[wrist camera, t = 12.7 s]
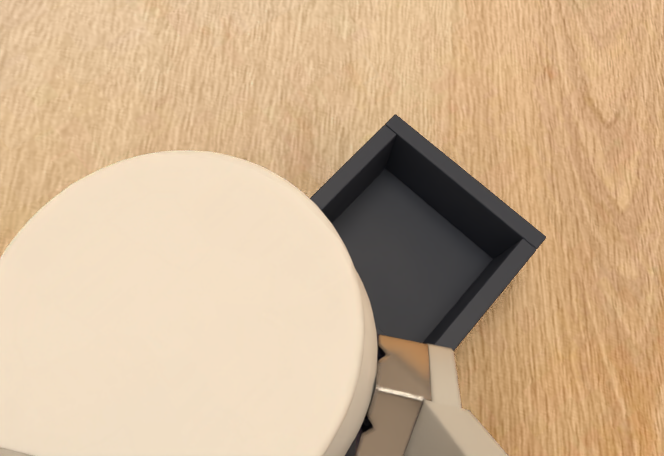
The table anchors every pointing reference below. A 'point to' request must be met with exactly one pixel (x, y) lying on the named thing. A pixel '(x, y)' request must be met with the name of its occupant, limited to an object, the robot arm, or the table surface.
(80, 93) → the table surface
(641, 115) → the table surface
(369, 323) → the pill bottle
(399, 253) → the tray
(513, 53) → the table surface
